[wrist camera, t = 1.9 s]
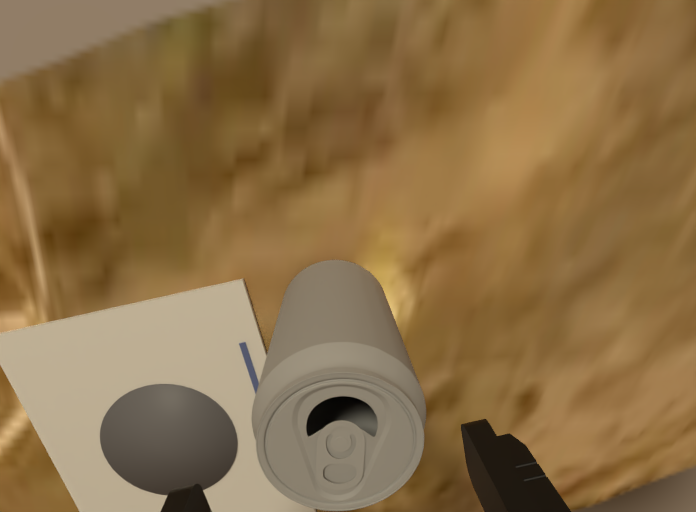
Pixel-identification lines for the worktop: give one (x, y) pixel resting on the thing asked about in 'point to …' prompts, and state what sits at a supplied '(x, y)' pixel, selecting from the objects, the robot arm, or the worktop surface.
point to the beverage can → (337, 394)
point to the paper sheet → (149, 400)
